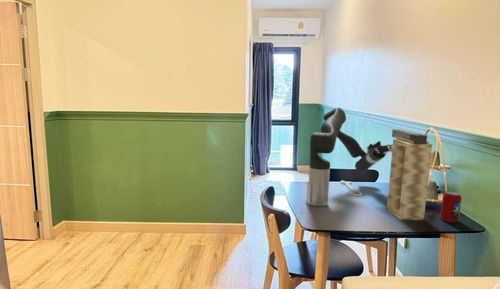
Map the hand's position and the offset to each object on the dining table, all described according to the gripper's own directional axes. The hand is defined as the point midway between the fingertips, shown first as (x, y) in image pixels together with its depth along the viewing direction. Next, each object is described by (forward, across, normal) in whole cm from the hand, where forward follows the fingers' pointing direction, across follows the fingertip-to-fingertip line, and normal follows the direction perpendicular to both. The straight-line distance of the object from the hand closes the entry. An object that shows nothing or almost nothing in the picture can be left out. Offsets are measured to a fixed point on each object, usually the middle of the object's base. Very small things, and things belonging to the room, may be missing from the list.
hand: (388, 143), depth 169 cm
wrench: (-31, -10, +16) cm, 36 cm away
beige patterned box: (+4, 0, +35) cm, 35 cm away
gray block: (+17, 0, +5) cm, 18 cm away
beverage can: (+10, +16, +38) cm, 43 cm away
